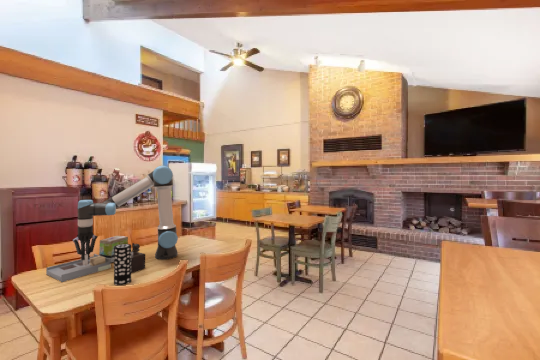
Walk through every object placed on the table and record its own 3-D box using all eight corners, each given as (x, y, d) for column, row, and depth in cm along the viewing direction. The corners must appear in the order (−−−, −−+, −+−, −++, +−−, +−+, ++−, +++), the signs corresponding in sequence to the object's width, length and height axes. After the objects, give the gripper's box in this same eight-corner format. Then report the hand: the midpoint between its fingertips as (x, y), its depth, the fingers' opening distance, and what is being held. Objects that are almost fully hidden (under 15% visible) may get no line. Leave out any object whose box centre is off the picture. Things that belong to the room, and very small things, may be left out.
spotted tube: (110, 283, 144) (110, 247, 143) (123, 278, 152) (123, 243, 151) (121, 286, 141) (121, 248, 141) (134, 280, 149) (134, 244, 148)
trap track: (110, 267, 167) (110, 259, 167) (61, 282, 145) (61, 272, 145) (94, 261, 178) (94, 253, 178) (46, 274, 156) (46, 265, 155)
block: (105, 263, 167) (105, 257, 167) (94, 266, 162) (94, 260, 162) (100, 262, 170) (100, 255, 170) (90, 264, 165) (89, 258, 165)
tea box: (111, 263, 175) (111, 241, 175) (98, 262, 177) (98, 240, 177) (128, 256, 190) (128, 235, 190) (116, 255, 192) (116, 235, 192)
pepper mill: (118, 270, 163) (118, 241, 162) (135, 265, 173) (135, 237, 172) (135, 275, 156) (135, 245, 155) (151, 269, 165) (151, 240, 165)
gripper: (94, 223, 167) (93, 260, 168) (69, 226, 156) (69, 266, 157) (100, 224, 163) (100, 263, 164) (75, 228, 152) (75, 269, 153)
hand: (85, 264), depth 160 cm, fingers closed
